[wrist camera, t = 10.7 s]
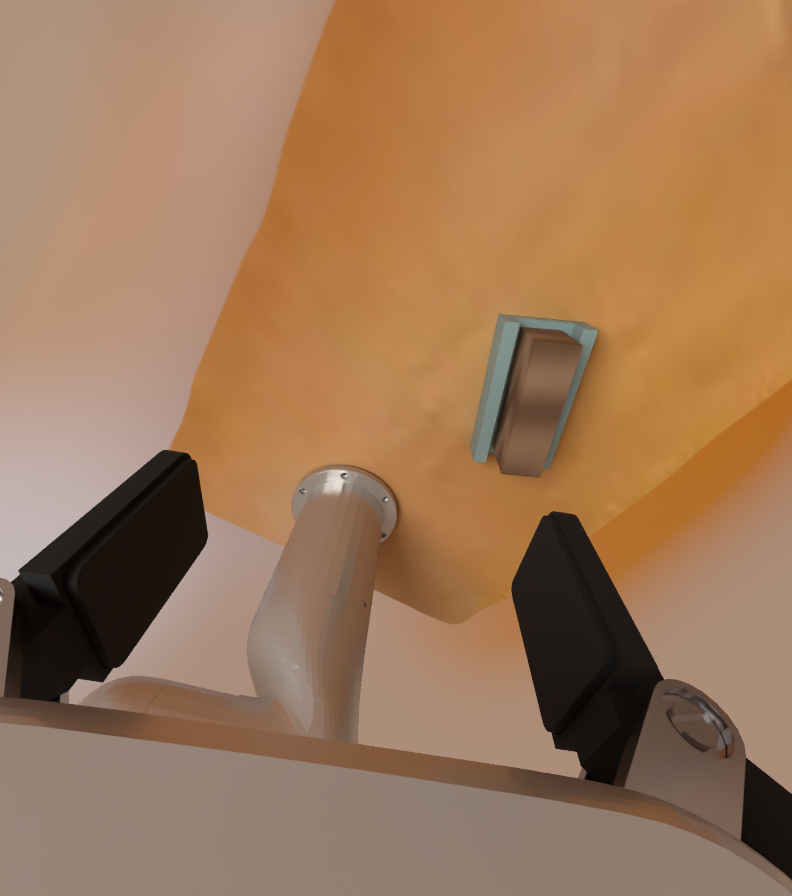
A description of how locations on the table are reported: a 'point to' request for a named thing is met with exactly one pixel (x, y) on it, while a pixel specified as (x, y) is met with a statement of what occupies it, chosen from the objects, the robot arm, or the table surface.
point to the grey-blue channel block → (500, 373)
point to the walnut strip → (534, 399)
